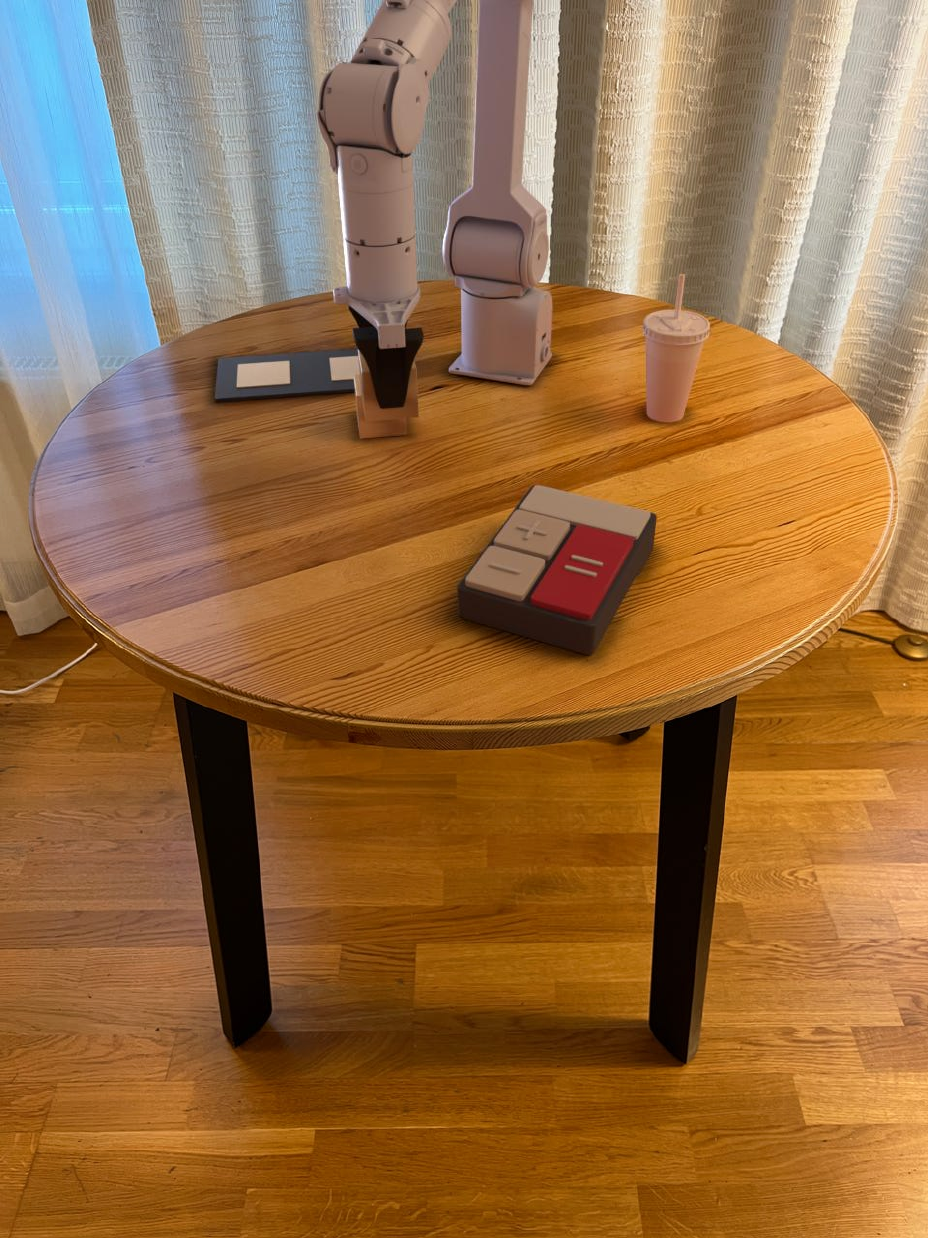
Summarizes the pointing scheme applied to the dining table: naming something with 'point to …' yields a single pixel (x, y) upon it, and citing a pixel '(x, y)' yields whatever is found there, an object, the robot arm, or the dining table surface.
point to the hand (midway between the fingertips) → (388, 392)
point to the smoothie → (672, 358)
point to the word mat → (286, 375)
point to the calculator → (558, 568)
